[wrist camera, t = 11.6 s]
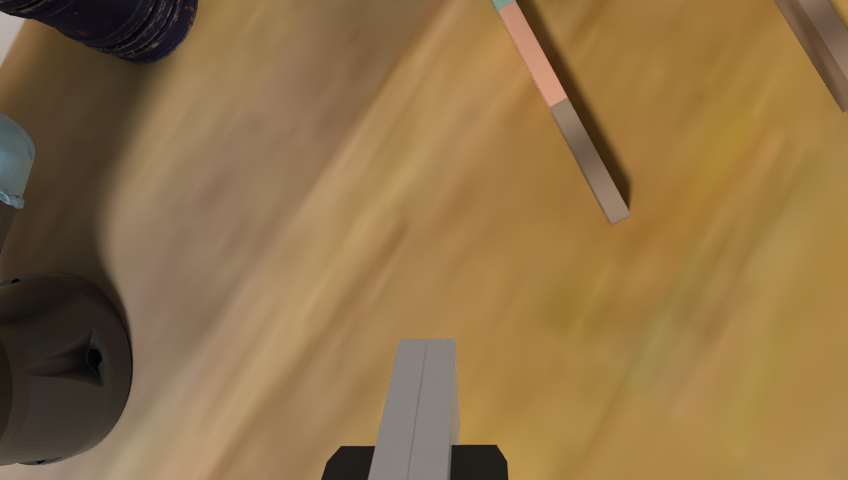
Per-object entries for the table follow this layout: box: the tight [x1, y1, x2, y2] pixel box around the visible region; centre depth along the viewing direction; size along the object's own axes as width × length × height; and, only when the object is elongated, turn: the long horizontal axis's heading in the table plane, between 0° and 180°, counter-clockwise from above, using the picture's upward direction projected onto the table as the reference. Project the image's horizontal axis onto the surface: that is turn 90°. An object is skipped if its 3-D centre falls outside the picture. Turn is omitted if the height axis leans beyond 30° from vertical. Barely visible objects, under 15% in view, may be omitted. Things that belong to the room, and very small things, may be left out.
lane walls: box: [550, 0, 848, 226], centre depth 35 cm, size 8×15×2 cm, turn 117°
